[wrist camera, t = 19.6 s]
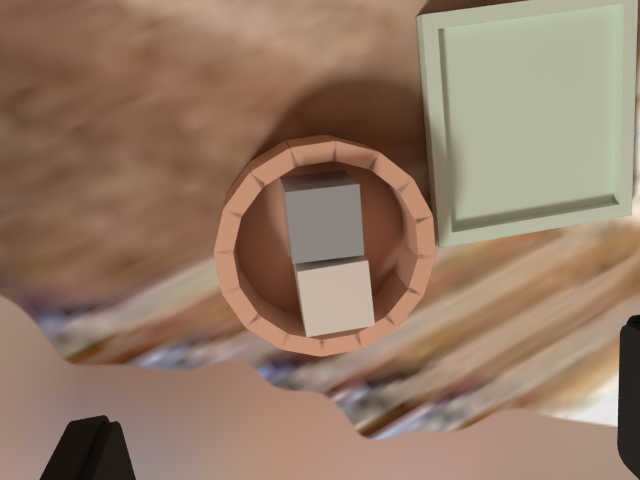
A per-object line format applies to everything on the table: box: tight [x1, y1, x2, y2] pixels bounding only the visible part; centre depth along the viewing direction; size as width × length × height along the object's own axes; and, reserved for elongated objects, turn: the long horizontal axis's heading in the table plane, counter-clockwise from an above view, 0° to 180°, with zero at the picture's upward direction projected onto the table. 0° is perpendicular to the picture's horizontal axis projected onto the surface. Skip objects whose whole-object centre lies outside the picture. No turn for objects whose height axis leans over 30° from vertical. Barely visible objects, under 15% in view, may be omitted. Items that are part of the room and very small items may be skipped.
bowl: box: [214, 134, 436, 357], centre depth 39 cm, size 14×14×4 cm
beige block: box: [293, 255, 375, 337], centre depth 38 cm, size 4×4×6 cm
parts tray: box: [416, 0, 638, 248], centre depth 40 cm, size 16×15×1 cm
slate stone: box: [280, 170, 364, 264], centre depth 37 cm, size 4×4×6 cm
